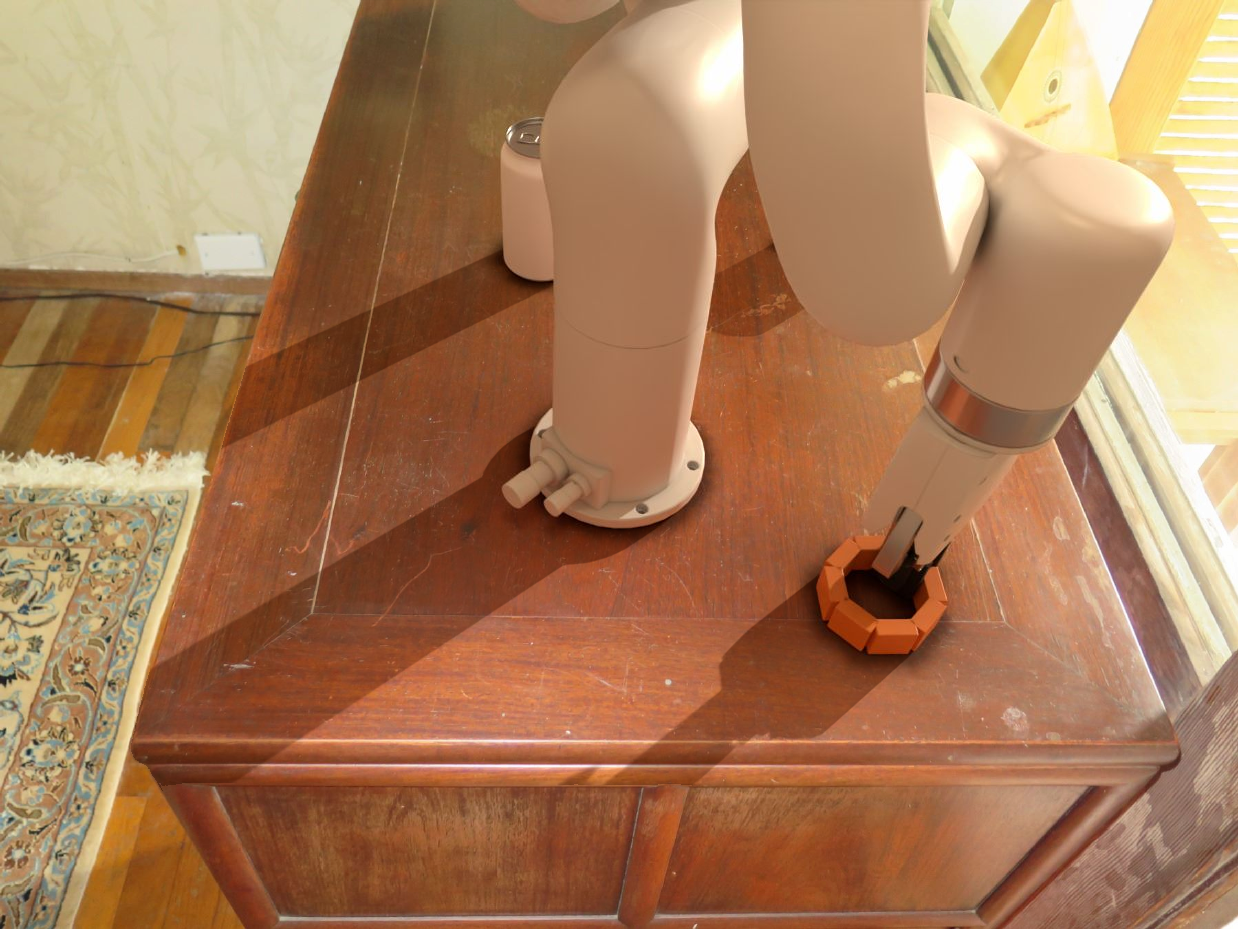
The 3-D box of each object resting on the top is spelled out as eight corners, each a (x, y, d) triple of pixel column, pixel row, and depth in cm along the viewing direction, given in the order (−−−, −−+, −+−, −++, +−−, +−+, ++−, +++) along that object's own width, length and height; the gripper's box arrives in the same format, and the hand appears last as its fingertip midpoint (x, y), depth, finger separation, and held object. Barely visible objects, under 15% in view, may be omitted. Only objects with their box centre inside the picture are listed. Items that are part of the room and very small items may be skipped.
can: (568, 290, 84) (572, 166, 74) (494, 276, 84) (489, 152, 75) (585, 243, 88) (591, 121, 78) (514, 231, 88) (512, 108, 79)
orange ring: (893, 677, 62) (904, 658, 60) (795, 603, 65) (803, 583, 63) (954, 603, 66) (966, 583, 64) (859, 536, 69) (868, 516, 67)
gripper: (1006, 284, 58) (913, 480, 72) (859, 422, 50) (787, 611, 64) (1126, 348, 55) (1005, 539, 69) (989, 506, 47) (884, 685, 61)
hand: (900, 573), depth 67 cm, fingers closed on orange ring, 1 cm apart
